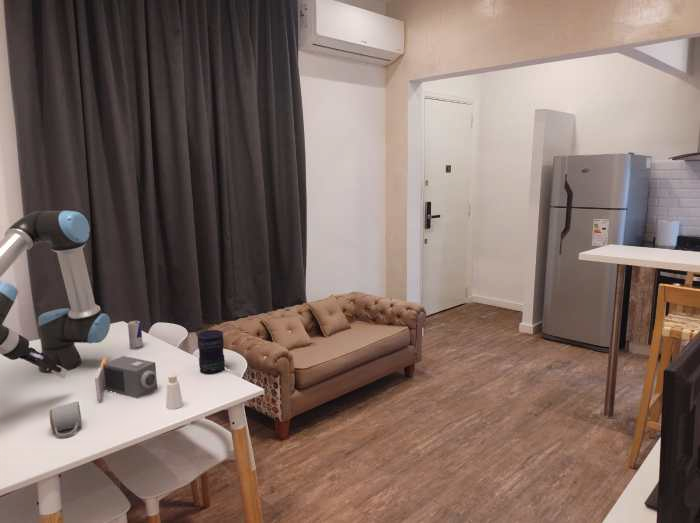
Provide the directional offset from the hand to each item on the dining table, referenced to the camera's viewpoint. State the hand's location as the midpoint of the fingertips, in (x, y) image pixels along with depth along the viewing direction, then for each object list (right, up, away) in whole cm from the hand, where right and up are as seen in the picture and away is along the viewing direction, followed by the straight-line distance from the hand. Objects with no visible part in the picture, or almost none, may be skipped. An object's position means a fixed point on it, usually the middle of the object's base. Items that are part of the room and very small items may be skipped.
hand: (64, 373), depth 177 cm
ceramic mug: (+13, -13, -21) cm, 28 cm away
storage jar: (+45, -4, +24) cm, 51 cm away
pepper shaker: (+41, -10, -6) cm, 42 cm away
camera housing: (+21, -7, +6) cm, 23 cm away
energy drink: (+4, 0, +50) cm, 50 cm away
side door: (+11, -6, +6) cm, 14 cm away
